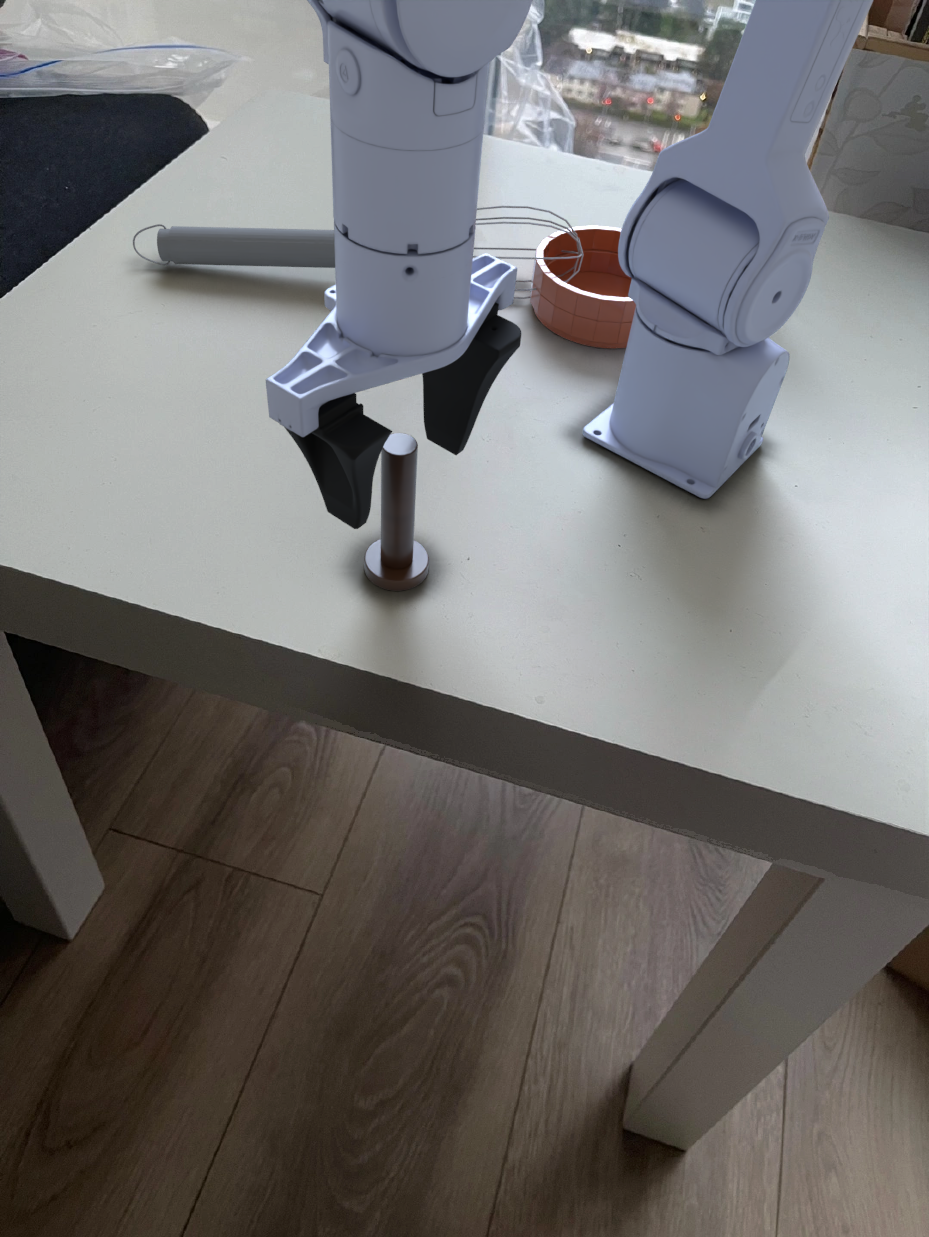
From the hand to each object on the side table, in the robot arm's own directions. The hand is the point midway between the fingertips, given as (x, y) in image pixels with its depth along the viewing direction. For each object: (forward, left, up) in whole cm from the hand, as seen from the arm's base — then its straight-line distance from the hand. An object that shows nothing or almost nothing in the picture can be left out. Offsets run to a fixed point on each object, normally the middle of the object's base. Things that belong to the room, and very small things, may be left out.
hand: (397, 479), depth 48 cm
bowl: (+6, -31, -6) cm, 32 cm away
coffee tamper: (0, 0, -6) cm, 7 cm away
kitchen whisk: (+22, -21, -6) cm, 31 cm away
